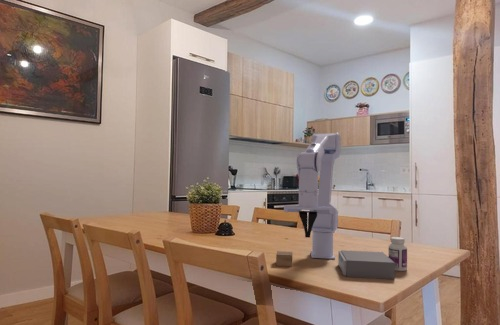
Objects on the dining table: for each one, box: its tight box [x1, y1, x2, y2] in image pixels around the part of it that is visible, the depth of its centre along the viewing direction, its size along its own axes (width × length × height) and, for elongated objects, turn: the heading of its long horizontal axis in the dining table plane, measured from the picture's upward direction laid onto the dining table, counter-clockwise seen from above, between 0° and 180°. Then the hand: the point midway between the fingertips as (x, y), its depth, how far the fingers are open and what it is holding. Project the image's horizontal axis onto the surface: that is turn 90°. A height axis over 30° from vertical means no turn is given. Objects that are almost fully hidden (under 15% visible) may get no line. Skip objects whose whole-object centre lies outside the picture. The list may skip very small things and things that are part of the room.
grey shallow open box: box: [337, 250, 347, 277], centre depth 110 cm, size 14×13×4 cm
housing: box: [340, 249, 396, 280], centre depth 110 cm, size 14×13×5 cm
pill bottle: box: [388, 236, 408, 272], centre depth 114 cm, size 5×5×10 cm
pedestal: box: [275, 250, 293, 267], centre depth 117 cm, size 5×5×4 cm
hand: (307, 236), depth 111 cm, fingers closed
